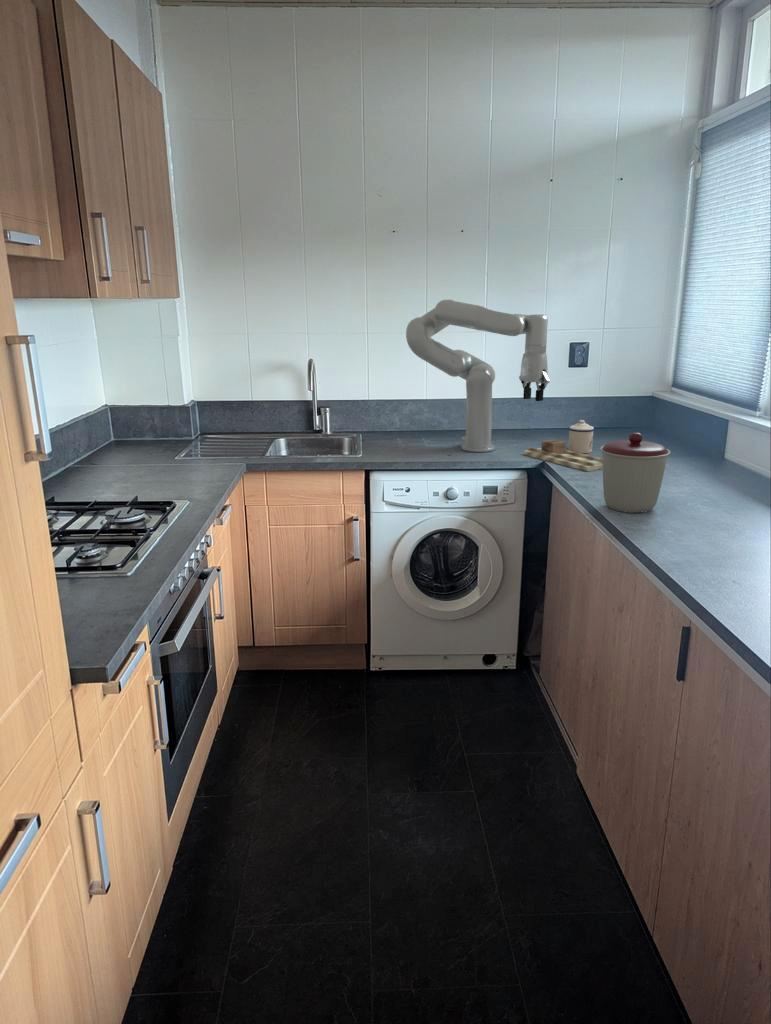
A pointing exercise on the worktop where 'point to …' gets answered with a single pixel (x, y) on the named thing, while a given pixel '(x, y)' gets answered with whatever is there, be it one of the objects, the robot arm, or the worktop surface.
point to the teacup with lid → (580, 438)
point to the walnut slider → (554, 446)
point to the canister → (632, 473)
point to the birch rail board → (567, 459)
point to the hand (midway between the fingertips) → (533, 399)
